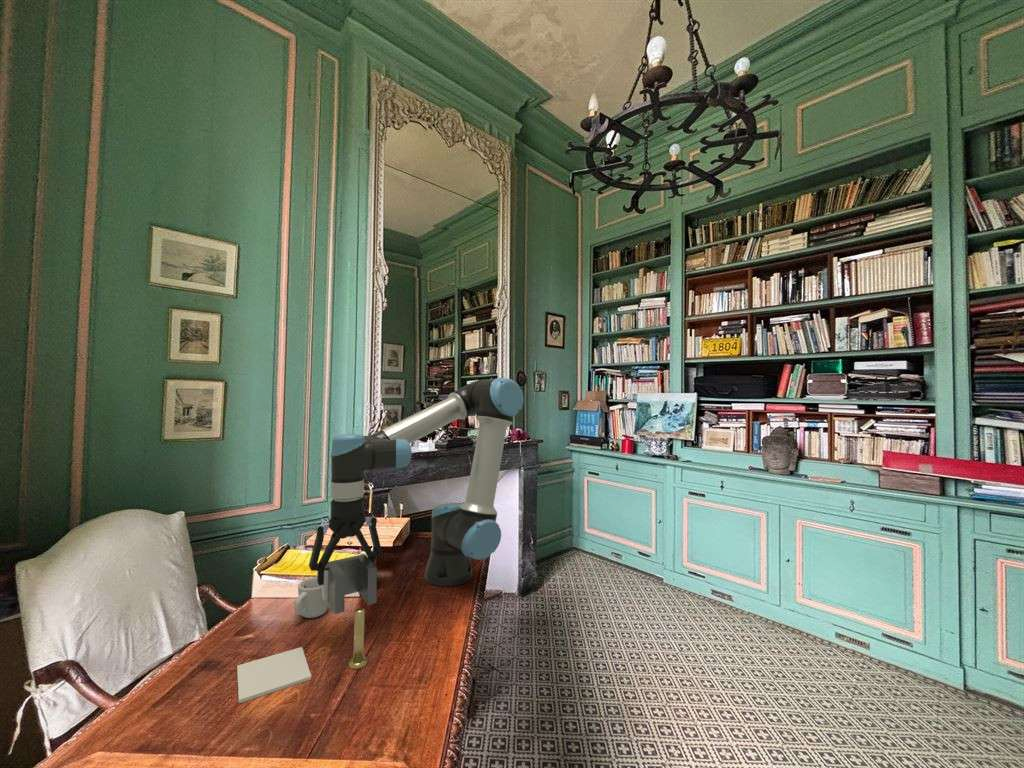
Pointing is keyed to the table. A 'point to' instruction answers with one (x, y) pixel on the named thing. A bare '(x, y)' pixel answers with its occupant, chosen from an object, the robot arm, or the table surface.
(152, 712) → the table surface
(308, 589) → the cup
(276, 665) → the pad
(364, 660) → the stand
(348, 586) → the grey u-shaped block
